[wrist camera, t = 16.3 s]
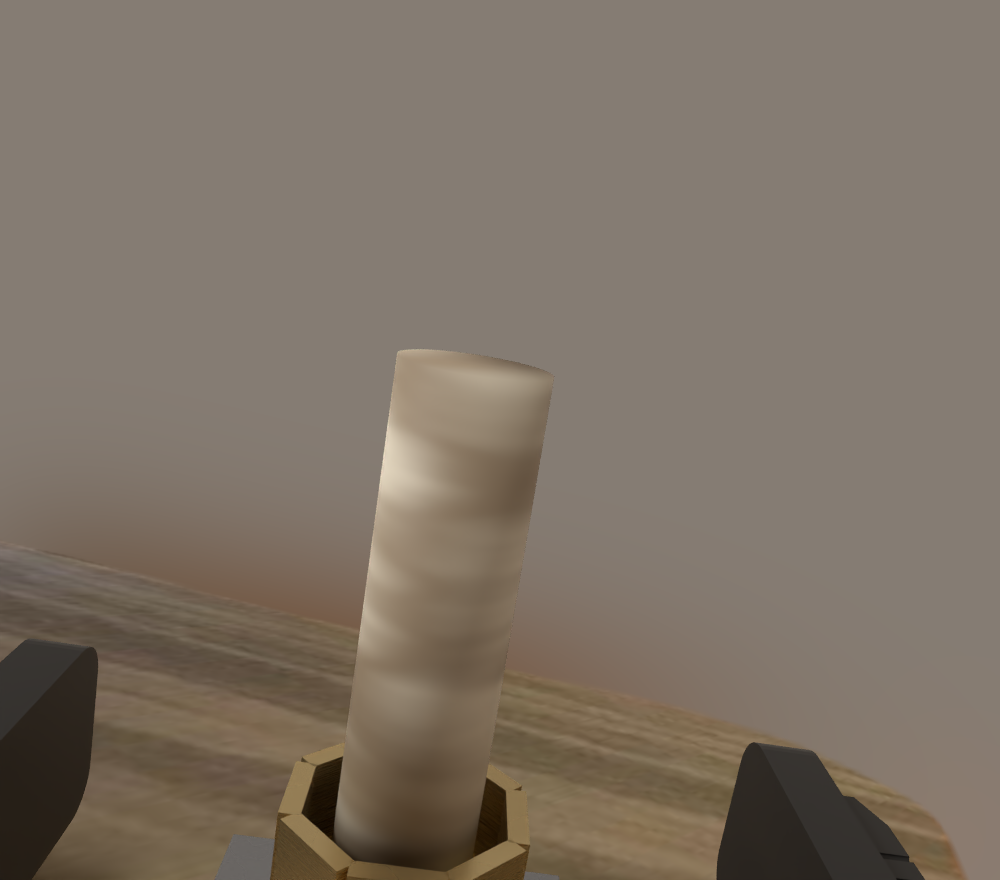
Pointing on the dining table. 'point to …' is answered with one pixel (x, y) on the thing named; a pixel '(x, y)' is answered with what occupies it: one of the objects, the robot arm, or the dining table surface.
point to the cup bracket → (335, 876)
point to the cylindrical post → (439, 605)
